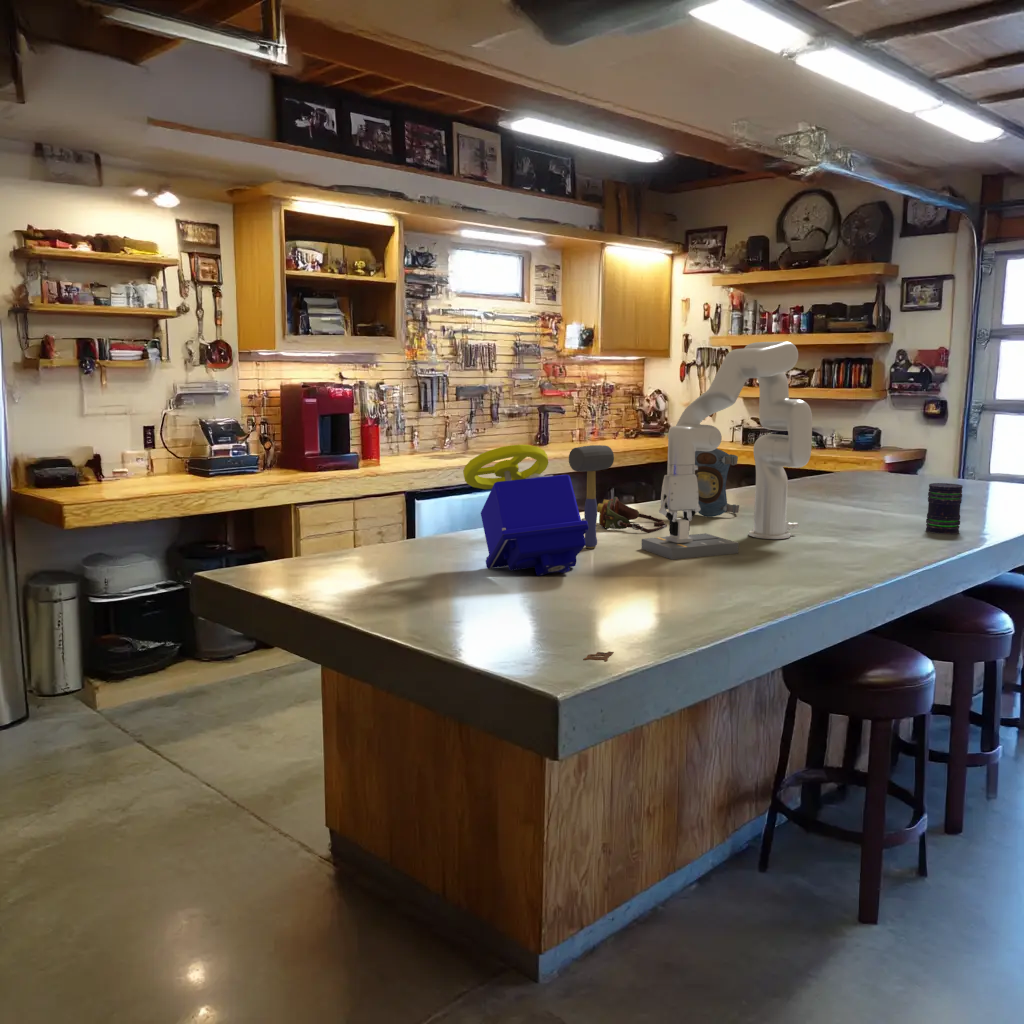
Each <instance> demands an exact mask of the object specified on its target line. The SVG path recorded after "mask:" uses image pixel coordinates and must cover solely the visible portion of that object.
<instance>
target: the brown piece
mask: <svg viewBox="0 0 1024 1024" xmlns="http://www.w3.org/2000/svg"><path fill="white" fill-rule="evenodd" d="M613 654H614V651H607V652H603V651H597V652H596V653H593V654H587V656H586V657H584V658H582V661H589V660H591V661H604V662H608V660H609V658H610V657H612V655H613Z"/></svg>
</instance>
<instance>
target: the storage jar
mask: <svg viewBox="0 0 1024 1024" xmlns="http://www.w3.org/2000/svg"><path fill="white" fill-rule="evenodd" d="M963 488H964V487H963V485H962V484H957V483H947V482H946V483H945V482H944V483H943V482H942V483H940V482H935V483H929V484H928V492H927V493H928V494H927V496H928V497H927V502H928V503H927V505H928V506H927V513H926V520H925V523H926V524H925V525H926V527H925V532H928V533H933V534H940V535H957V534H959V533H960V526H961V504H962V501H963V499H962V498H963Z"/></svg>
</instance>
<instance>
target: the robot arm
mask: <svg viewBox="0 0 1024 1024" xmlns="http://www.w3.org/2000/svg"><path fill="white" fill-rule="evenodd" d="M798 360H799V351H798V348H797V347H796V345H795V344H793V342H790V341H760V342H759V341H758V342H757V341H756V342H752V343H749V344H747V345H745V347H744V348H736V349H733V350H731V351H729V352H728V353H727V354H726V355H725V357H724V359H723V361H722V363H721V364H720V367H719V369H718V371H717V373H716V374H715V376H714V378H713V380H712V382H711V384H710V386H709V388H708V389H707V390H706V391H705V392H704V393H702V394H701V395H699V396H698V397H697V398H696V399H695V400H693V401H692V402H691V403H690V404H689V405H688V406H687V407H685V409H684V410H683V412H682V414H681V415H680V417H679V419H678V420H677V422H676V425H674V426H671V427H670V428H669V429H668V435H667V438H668V439H667V441H668V442H667V470H666V471H667V472H666V473H667V474H664V476H663V480H662V486H661V494H660V508H659V509H658V513H660V514H661V515H663V516H665V517H666V520H667V521H669V523H668V524H669V525H668V528H669V530H668V531H669V536H670V535H674V536H677V535H678V522H676V520H677V518H678V512H682V519H685V520H688V521H689V531H690V529H691V528H690V527H691V521H692V520H693V518H694V517H695V515H696V514H697V513H698V512H699V511H700V510H701V508H700V506H699V504H698V483H697V477H696V475H695V470H698V466H697V465H696V466H695V451H712V450H715V449H716V448H717V449H718V447H720V445H721V443H722V433H721V431H720V429H719V428H718V427H716V426H713V425H711V424H702V422H703V421H704V420H705V419H707V418H708V417H710V416H712V415H714V414H715V413H718V412H721V411H724V410H726V409H727V408H729V407H731V406H733V405H734V404H735V403H736V402H737V399H738V397H739V395H740V393H741V392H742V390H743V388H744V386H745V384H746V382H747V380H748V379H757V382H758V385H759V401H758V403H759V407H758V409H759V412H758V415H759V417H758V418H759V423H760V425H761V427H762V428H764V429H766V430H770V431H771V430H772V431H783V432H784V431H785V432H786V431H787V434H786V435H785V434H775V433H774V434H773V433H771V434H770V433H768V434H763V435H761V436H759V437H758V438H757V439H756V440H755V442H754V444H753V458H754V464H755V465H754V466H755V489H754V490H755V493H754V513H753V514H754V515H753V516H754V518H753V529H750V530H749V531H748V536H750V537H753V538H756V539H762V540H763V539H764V540H783V539H789V538H790V537H791V534H792V533H791V532H789V531H790V530H795V529H798V528H799V523H798V522H790V521H787V507H788V504H787V503H788V487H789V485H788V483H789V479H788V475H787V472H786V470H785V468H784V467H786V468H793V469H794V468H795V469H796V468H797V469H798V468H803V467H804V466H806V465H807V464H808V463H809V461H810V459H811V454H812V445H813V444H812V443H813V441H812V439H813V437H812V436H813V414H812V413H813V412H812V410H811V406H810V405H809V403H807V402H806V401H804V400H802V399H799V398H798V399H797V398H790V394H789V392H790V391H789V381H788V377H787V375H786V373H785V372H789V371H791V370H792V369H793V368H794V367H795V366H796V364H797V362H798Z"/></svg>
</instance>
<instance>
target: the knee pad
mask: <svg viewBox="0 0 1024 1024" xmlns="http://www.w3.org/2000/svg"><path fill="white" fill-rule="evenodd" d="M738 459H739V456H738V455H737V454H736V455H735V454H733V453H732V454H729V453H728V452H725V451H724V450H721V449H720V448H719V449H718V447H717V448H716V449H715V450H712V451H695V466H696V465H697V466H698V470H695V475H696V477H697V483H698V504H699V506H700V508H701V510H700V511H699V512H697V513H698V514H699V515H701V516H703V517H707V518H709V517H718V516H722V514H724V513H732V514H738V513H739V511H740V510H739V509H740V505H739V504H730V503H728V498H727V489H726V488H727V487H726V486H727V485H726V484H727V480H728V479H727V478H728V473H729V470H730V469H729V468H730V466H735V465H738V461H739V460H738Z"/></svg>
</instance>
